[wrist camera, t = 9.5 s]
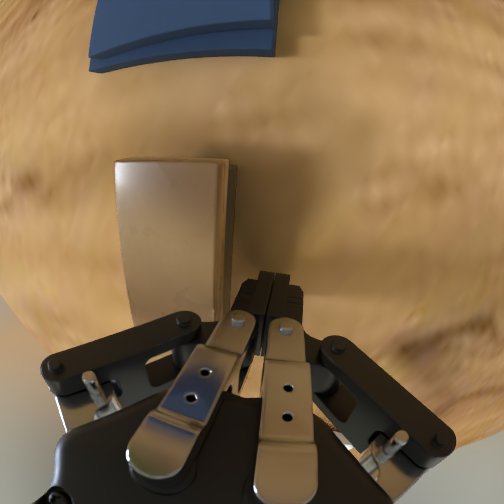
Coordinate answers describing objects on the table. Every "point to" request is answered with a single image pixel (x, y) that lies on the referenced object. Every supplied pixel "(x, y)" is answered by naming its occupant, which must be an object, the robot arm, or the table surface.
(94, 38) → the folded cloth
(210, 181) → the tan two-tone block
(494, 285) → the table surface
